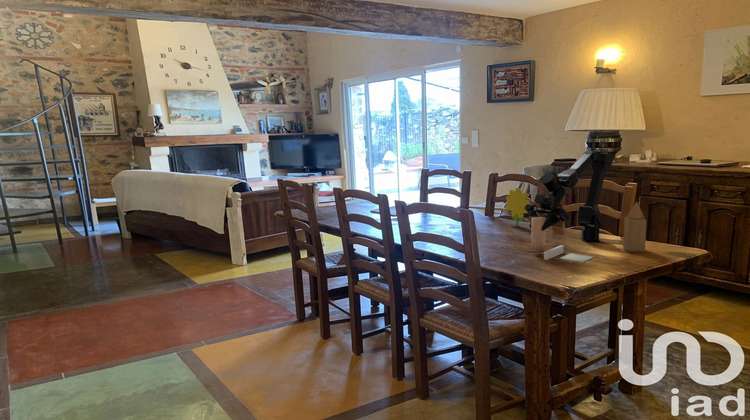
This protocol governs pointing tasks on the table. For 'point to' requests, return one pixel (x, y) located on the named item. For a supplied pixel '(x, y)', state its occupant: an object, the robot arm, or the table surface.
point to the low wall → (553, 252)
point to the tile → (576, 257)
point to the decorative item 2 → (634, 230)
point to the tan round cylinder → (537, 231)
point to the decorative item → (517, 204)
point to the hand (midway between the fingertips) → (536, 228)
